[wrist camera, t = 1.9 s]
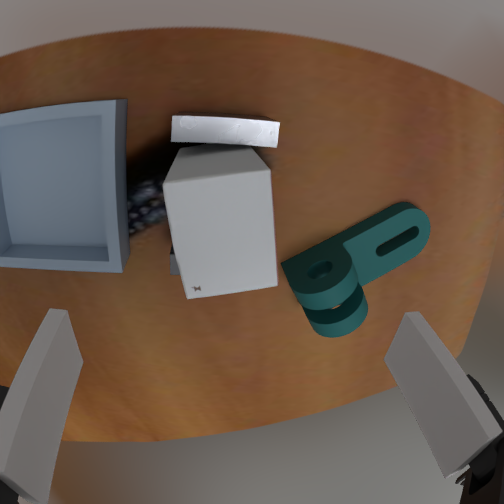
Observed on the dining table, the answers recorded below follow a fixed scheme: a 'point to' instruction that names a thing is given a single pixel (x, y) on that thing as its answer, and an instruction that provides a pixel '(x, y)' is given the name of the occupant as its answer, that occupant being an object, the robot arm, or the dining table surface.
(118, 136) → the tray
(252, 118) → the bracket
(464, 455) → the robot arm
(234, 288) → the small box
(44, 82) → the dining table surface
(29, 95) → the dining table surface
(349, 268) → the bracket
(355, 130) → the dining table surface
